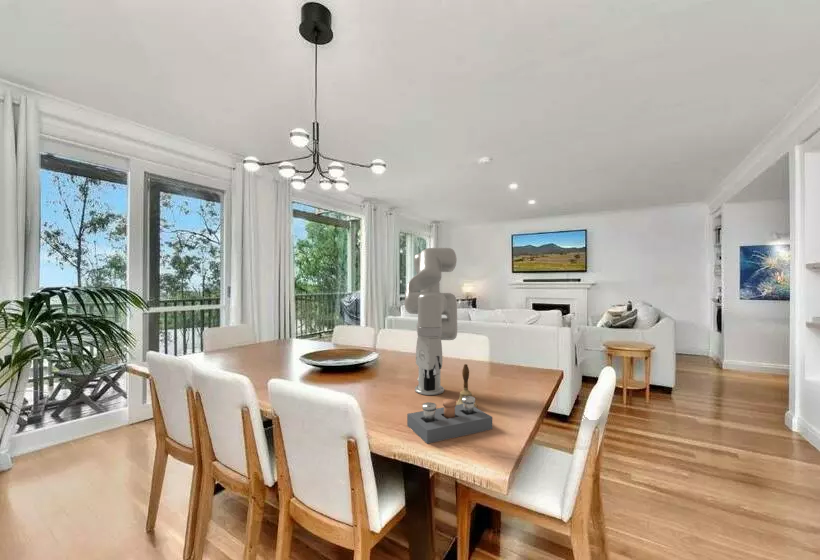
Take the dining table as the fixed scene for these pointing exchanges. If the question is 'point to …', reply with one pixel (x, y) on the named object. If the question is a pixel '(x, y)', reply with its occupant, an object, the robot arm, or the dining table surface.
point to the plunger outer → (429, 411)
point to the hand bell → (465, 385)
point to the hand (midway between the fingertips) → (429, 389)
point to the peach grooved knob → (449, 408)
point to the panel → (448, 424)
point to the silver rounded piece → (468, 405)
